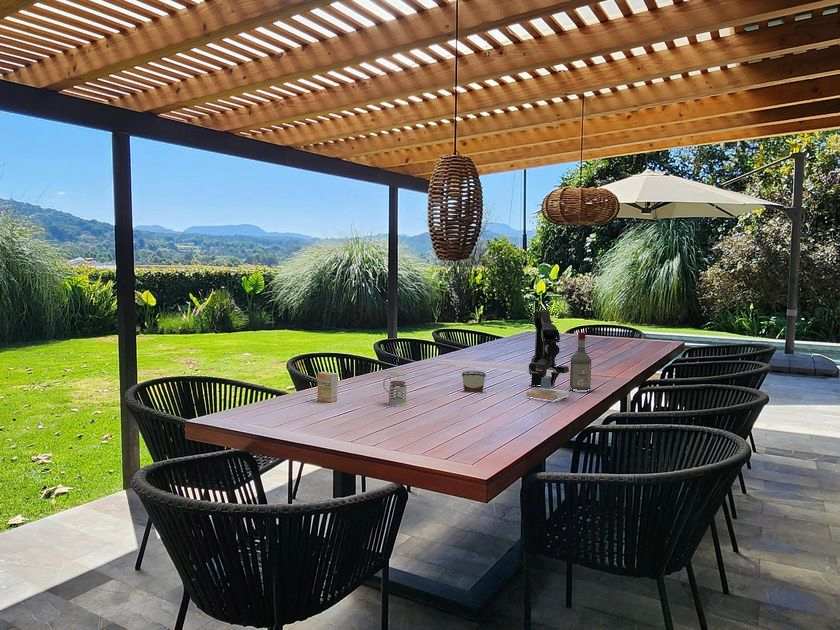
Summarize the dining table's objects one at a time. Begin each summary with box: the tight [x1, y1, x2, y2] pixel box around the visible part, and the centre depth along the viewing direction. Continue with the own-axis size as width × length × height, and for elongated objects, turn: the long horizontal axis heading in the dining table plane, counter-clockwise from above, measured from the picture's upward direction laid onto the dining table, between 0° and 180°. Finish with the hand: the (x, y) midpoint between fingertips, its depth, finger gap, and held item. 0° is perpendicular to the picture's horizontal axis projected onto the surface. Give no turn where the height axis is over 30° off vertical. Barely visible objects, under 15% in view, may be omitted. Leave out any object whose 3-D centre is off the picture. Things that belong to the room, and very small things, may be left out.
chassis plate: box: [526, 387, 570, 400], centre depth 283 cm, size 16×14×3 cm
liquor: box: [569, 331, 592, 390], centre depth 300 cm, size 9×9×30 cm
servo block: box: [540, 375, 556, 389], centre depth 283 cm, size 9×4×6 cm, turn 140°
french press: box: [382, 348, 409, 406], centre depth 266 cm, size 10×12×25 cm
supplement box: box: [316, 370, 339, 404], centre depth 269 cm, size 8×5×13 cm, turn 62°
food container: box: [460, 370, 487, 393], centre depth 296 cm, size 12×6×10 cm, turn 84°
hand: (548, 385), depth 283 cm, fingers closed on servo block, 4 cm apart
